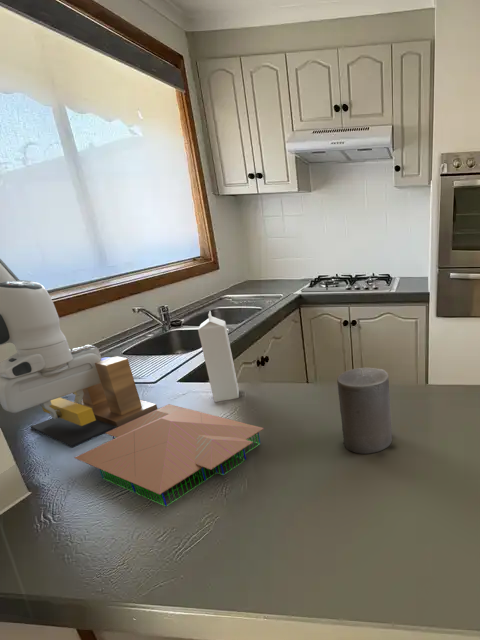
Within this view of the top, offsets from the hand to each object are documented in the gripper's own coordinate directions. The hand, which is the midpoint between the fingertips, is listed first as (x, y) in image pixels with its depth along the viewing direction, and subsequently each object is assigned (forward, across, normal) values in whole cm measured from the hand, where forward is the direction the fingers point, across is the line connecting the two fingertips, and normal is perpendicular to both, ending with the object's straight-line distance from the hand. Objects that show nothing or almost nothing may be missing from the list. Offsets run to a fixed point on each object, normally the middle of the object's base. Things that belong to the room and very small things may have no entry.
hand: (67, 413), depth 96 cm
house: (+4, -3, +34) cm, 34 cm away
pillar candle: (+4, -24, +66) cm, 70 cm away
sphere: (+4, -22, -25) cm, 33 cm away
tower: (+4, -10, -1) cm, 11 cm away
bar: (+1, 0, 0) cm, 1 cm away
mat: (+4, 0, 0) cm, 4 cm away
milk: (+4, -28, +20) cm, 34 cm away
